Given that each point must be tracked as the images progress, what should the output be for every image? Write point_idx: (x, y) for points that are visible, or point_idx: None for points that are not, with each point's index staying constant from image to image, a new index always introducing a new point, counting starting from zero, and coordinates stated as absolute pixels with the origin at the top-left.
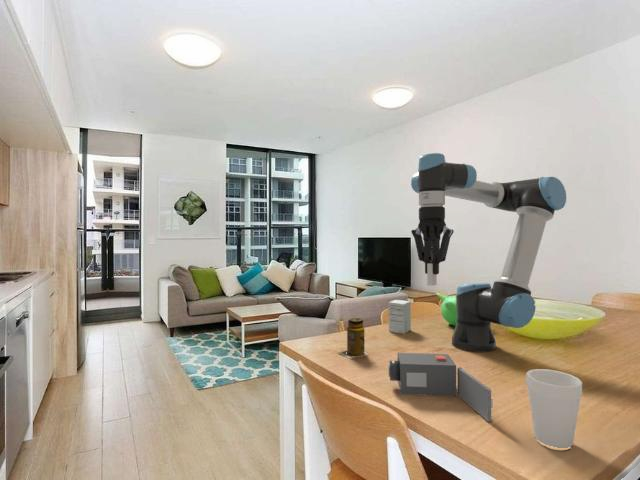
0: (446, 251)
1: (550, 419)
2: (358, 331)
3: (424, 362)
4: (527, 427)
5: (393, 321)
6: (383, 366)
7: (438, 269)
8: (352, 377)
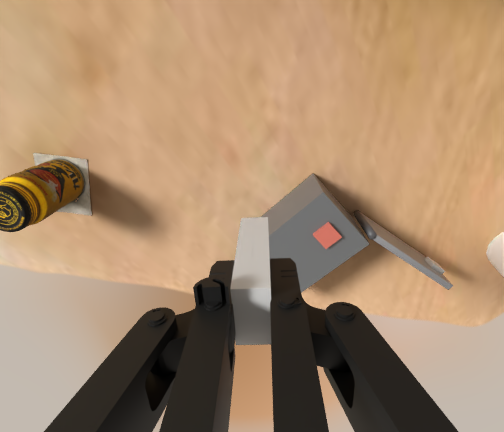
0: (411, 388)
1: None
2: (48, 212)
3: (311, 272)
4: (474, 234)
5: None
6: (168, 197)
7: (297, 280)
8: (176, 277)
